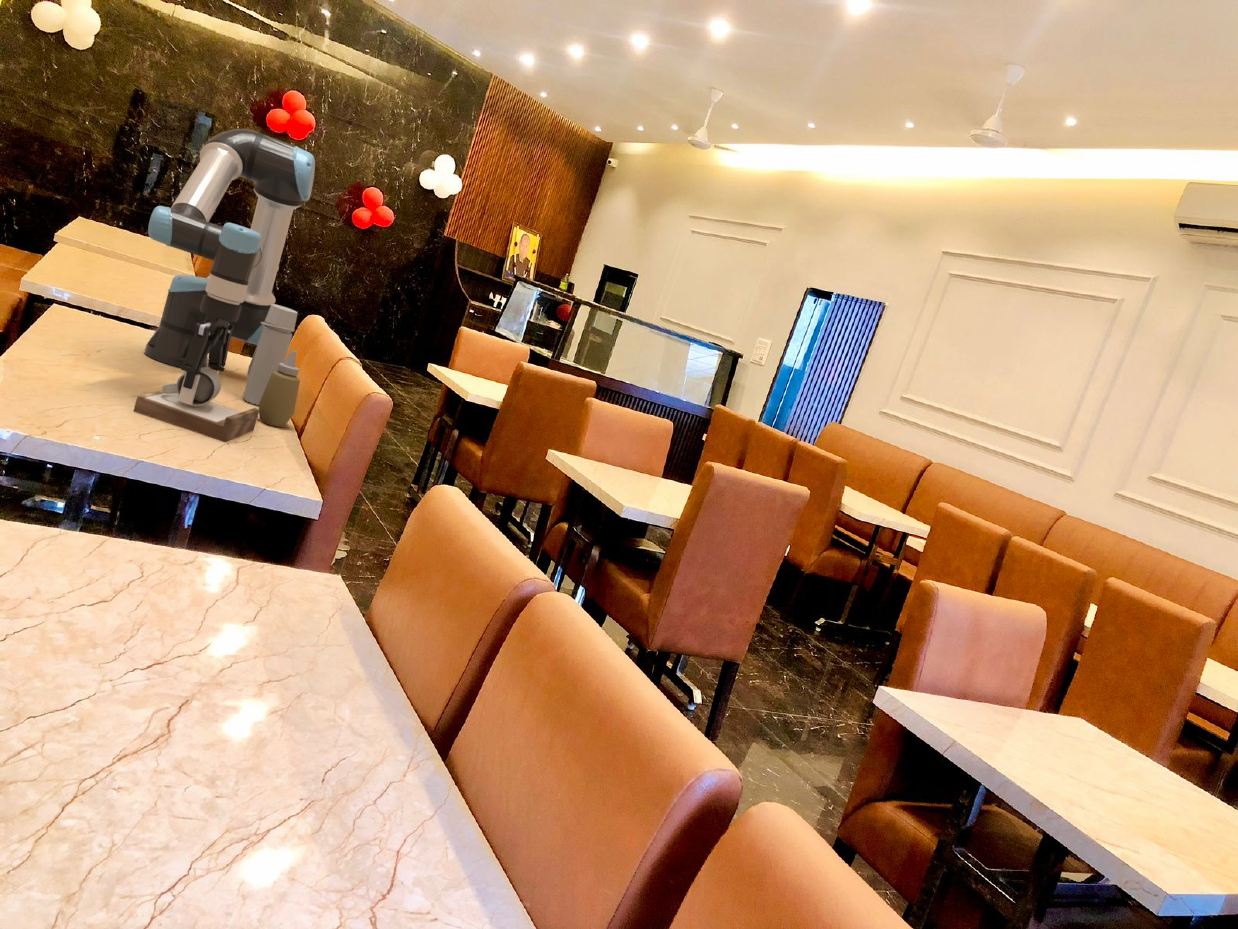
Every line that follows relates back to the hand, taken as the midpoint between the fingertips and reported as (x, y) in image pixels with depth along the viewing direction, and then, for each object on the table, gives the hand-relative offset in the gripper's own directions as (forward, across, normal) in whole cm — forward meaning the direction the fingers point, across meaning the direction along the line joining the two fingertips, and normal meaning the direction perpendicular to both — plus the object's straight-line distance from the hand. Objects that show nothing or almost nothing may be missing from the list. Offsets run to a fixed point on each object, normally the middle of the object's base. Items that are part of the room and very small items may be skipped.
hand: (194, 399), depth 187 cm
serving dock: (+4, 0, +2) cm, 5 cm away
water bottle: (+5, -35, +1) cm, 35 cm away
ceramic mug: (+1, 0, -1) cm, 1 cm away
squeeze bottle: (+5, -20, +11) cm, 23 cm away
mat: (+1, 0, 0) cm, 1 cm away
